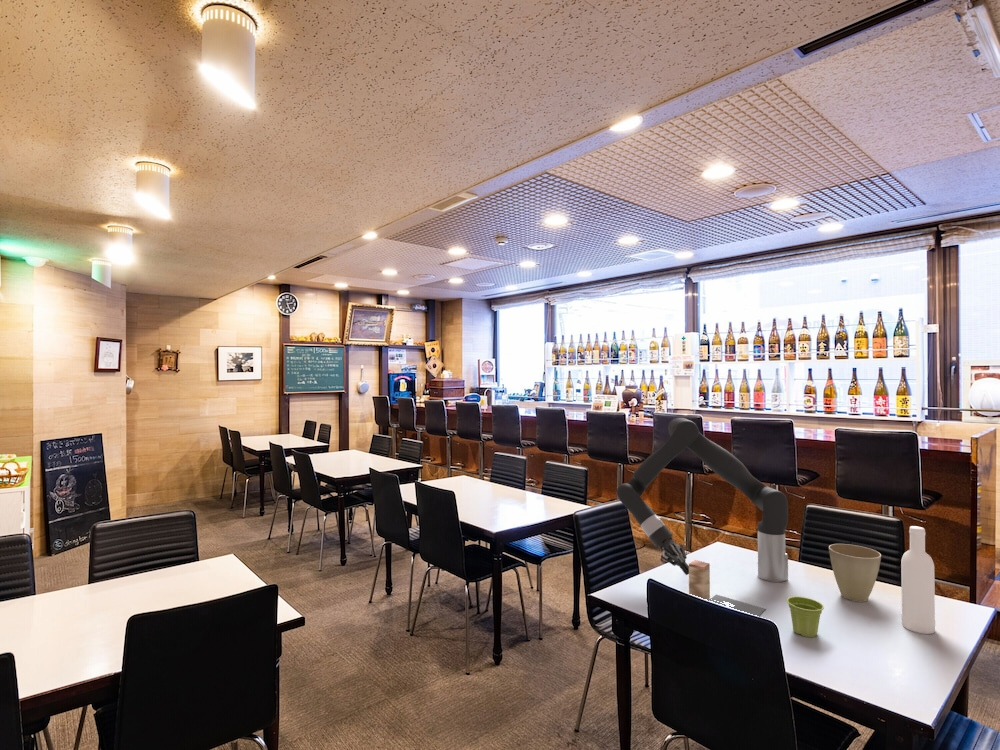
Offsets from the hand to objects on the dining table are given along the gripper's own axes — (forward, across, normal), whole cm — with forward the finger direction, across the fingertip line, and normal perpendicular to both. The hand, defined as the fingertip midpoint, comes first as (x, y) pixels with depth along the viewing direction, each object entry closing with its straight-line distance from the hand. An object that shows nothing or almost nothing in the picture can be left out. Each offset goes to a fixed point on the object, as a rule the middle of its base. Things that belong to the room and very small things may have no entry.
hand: (689, 573), depth 182 cm
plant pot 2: (+35, +37, -23) cm, 56 cm away
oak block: (+8, 0, +3) cm, 9 cm away
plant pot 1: (+31, -2, -20) cm, 37 cm away
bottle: (+48, +25, -36) cm, 65 cm away
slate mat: (+16, 0, -5) cm, 17 cm away
